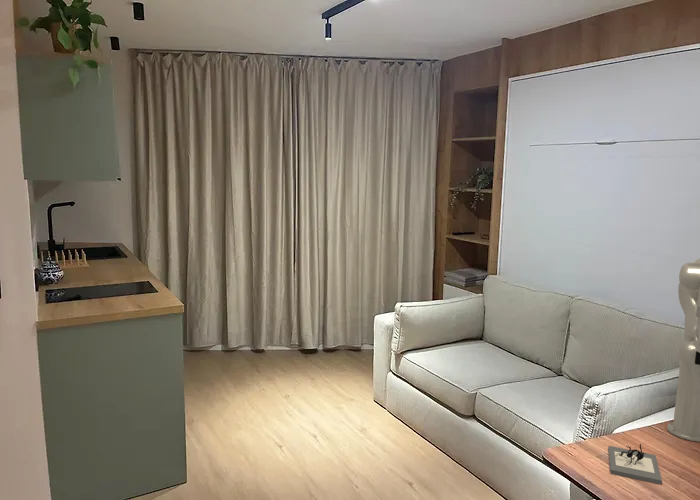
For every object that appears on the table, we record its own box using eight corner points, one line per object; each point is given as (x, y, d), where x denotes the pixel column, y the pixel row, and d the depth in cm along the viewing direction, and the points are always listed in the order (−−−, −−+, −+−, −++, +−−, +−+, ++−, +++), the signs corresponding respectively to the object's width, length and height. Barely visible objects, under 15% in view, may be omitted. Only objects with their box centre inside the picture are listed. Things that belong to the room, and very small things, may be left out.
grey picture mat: (608, 449, 177) (608, 445, 177) (655, 458, 172) (655, 454, 172) (610, 473, 162) (610, 469, 162) (661, 484, 157) (662, 480, 157)
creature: (617, 468, 164) (648, 468, 162) (615, 451, 164) (645, 450, 162) (613, 456, 172) (642, 455, 169) (611, 439, 172) (640, 438, 169)
